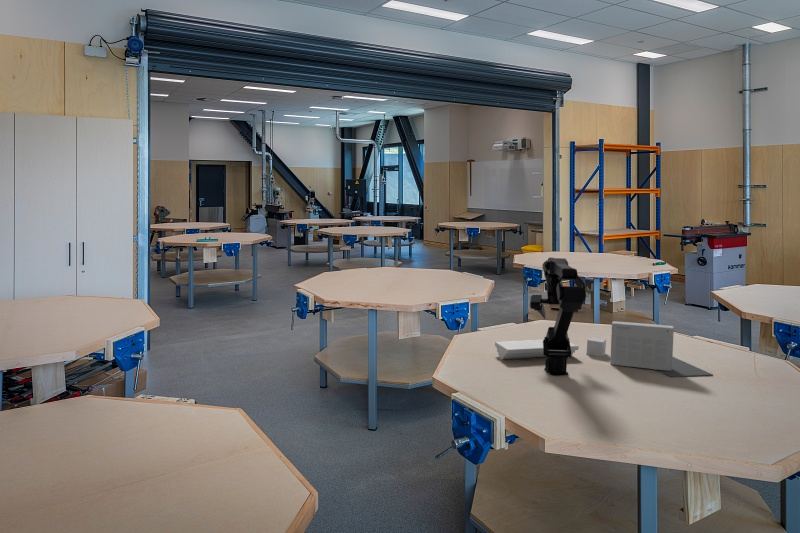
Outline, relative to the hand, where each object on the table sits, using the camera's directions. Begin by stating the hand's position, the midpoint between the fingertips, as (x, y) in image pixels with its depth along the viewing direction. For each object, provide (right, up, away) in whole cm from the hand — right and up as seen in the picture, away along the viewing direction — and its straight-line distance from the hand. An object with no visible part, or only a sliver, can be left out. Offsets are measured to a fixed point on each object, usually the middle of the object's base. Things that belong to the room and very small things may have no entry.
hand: (557, 318), depth 221 cm
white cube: (+17, -15, +7) cm, 24 cm away
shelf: (-8, -15, +1) cm, 17 cm away
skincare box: (+28, -17, -9) cm, 34 cm away
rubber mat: (+40, -17, -7) cm, 44 cm away
